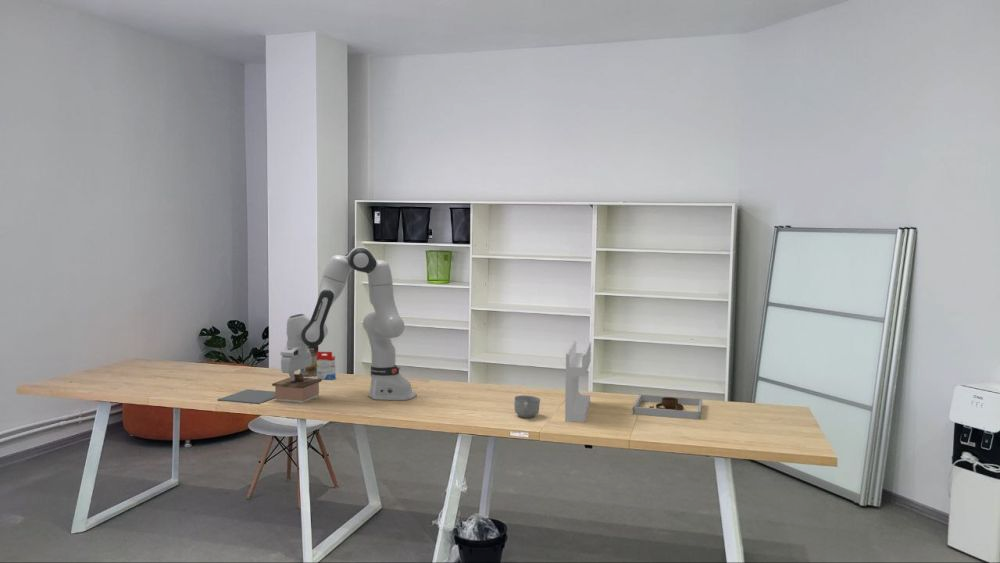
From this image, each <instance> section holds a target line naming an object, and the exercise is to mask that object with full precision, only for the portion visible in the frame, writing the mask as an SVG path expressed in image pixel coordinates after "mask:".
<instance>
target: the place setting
mask: <svg viewBox="0 0 1000 563" xmlns="http://www.w3.org/2000/svg"><path fill="white" fill-rule="evenodd" d="M672 397H673V396H671V397H664V398H662V403H656V405H655V407H656V409H669V410H682V411H684V405H683V404H678V399H677V398H672ZM649 408H654V405H652V406H651V405H650V406H649Z"/></svg>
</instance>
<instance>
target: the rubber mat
mask: <svg viewBox="0 0 1000 563" xmlns="http://www.w3.org/2000/svg"><path fill="white" fill-rule="evenodd" d="M274 399H276V394H275V391H273V390H260V389H248V388H247V389H245V390H242V391H238V392H236V393H233V394H229V395H226V396H224V397H221V398H217V401H220V402H233V403H240V404H241V403H242V404H243V403H244V404H246V403H247V404H255V405H261V404H263V403H266V402H269V401H271V400H274Z"/></svg>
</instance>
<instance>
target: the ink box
mask: <svg viewBox="0 0 1000 563" xmlns="http://www.w3.org/2000/svg"><path fill="white" fill-rule="evenodd" d="M316 379H322V381H324V380H325V381H326V380H327V381H328V380H329V381H333V380H335V379H336V355H333V352H332V351H318V352H317V376H316Z"/></svg>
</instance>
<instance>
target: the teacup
mask: <svg viewBox="0 0 1000 563" xmlns="http://www.w3.org/2000/svg"><path fill="white" fill-rule="evenodd" d="M540 402H541V399H540V397H537V396H533V395H525V394H524V395H515V396H514V409H513V410H514V412H515V413H516V414H517V416H518V417H521V418H527V419H529V418H534V417H535V416H537V415H538V414H539V411H540Z"/></svg>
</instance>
